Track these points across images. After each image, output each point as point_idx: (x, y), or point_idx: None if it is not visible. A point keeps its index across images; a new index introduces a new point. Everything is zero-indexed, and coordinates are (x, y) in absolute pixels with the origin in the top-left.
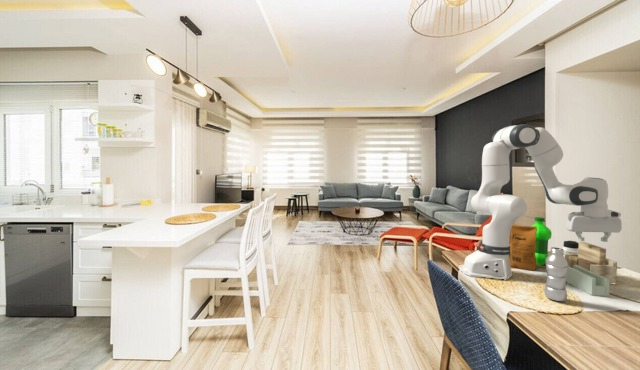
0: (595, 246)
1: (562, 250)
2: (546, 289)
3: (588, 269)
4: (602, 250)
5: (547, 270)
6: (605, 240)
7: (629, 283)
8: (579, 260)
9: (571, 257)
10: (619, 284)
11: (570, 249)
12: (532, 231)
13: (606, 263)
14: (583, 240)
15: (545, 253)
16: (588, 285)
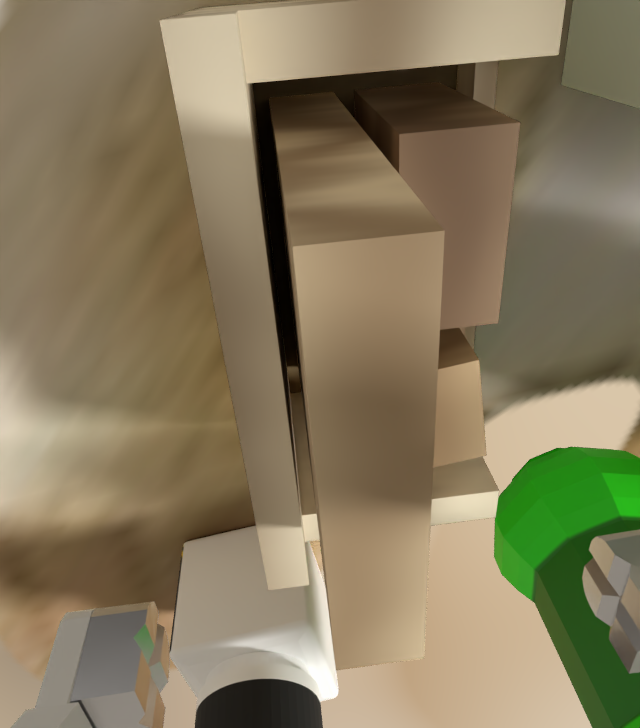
0: (388, 418)
1: None
2: None
3: (484, 108)
4: (370, 222)
5: None
6: (111, 630)
7: (12, 105)
8: (495, 299)
9: (480, 419)
10: (150, 29)
11: (286, 667)
12: None
13: (255, 158)
14: (627, 544)
15: (599, 530)
16: None
